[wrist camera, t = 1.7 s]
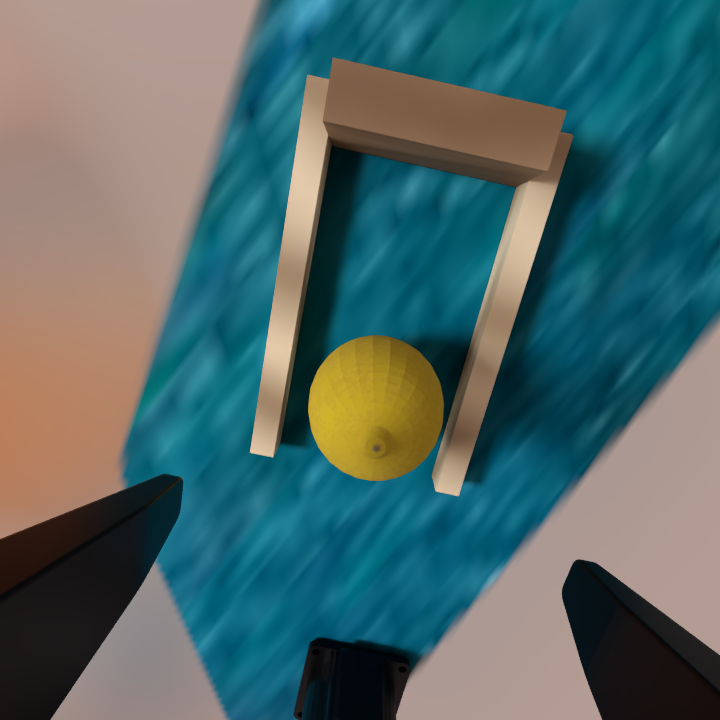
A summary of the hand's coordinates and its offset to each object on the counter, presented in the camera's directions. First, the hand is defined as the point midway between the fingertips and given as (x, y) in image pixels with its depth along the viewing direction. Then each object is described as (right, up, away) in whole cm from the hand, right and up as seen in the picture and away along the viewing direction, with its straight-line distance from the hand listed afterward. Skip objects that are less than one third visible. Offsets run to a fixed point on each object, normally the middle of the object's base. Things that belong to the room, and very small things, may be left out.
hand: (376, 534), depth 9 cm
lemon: (0, +3, +12) cm, 12 cm away
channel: (+1, +6, +11) cm, 12 cm away
